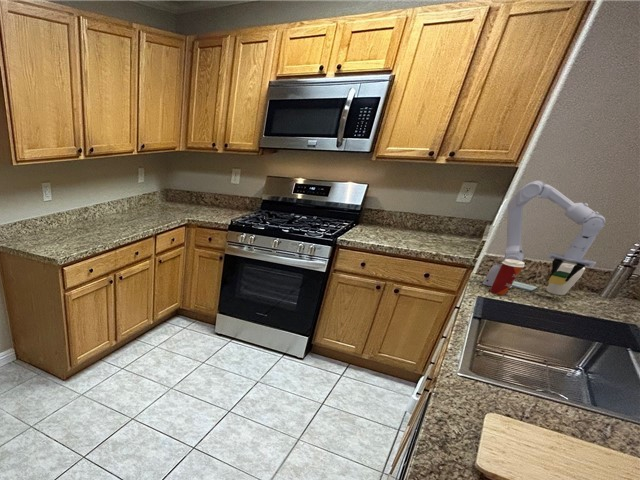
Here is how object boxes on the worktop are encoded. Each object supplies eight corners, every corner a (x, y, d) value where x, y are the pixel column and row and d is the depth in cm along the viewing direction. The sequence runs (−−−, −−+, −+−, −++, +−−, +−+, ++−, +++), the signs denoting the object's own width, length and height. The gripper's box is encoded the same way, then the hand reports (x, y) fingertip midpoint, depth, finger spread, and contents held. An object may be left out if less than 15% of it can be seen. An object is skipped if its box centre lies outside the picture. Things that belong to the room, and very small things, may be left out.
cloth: (502, 283, 194) (503, 282, 193) (508, 281, 197) (509, 279, 197) (530, 291, 186) (531, 290, 186) (537, 288, 190) (537, 286, 190)
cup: (564, 291, 188) (581, 265, 181) (571, 297, 181) (589, 270, 174) (540, 287, 191) (555, 261, 184) (545, 293, 184) (562, 267, 178)
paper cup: (508, 297, 179) (526, 265, 171) (486, 292, 183) (503, 261, 175) (508, 292, 184) (525, 261, 177) (487, 288, 188) (503, 257, 180)
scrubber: (560, 285, 173) (566, 276, 171) (547, 282, 176) (553, 273, 174) (566, 282, 176) (572, 273, 174) (553, 279, 179) (558, 270, 177)
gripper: (553, 243, 171) (534, 275, 178) (600, 252, 161) (577, 286, 169) (559, 241, 174) (540, 273, 182) (605, 250, 164) (583, 283, 172)
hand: (558, 279), depth 175 cm, fingers closed on scrubber, 4 cm apart
